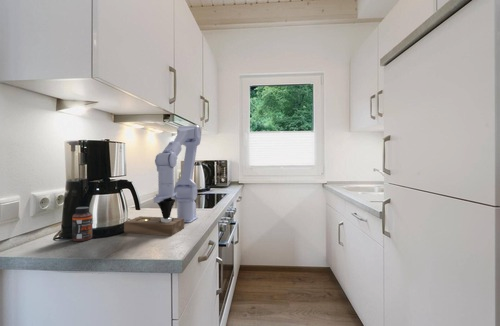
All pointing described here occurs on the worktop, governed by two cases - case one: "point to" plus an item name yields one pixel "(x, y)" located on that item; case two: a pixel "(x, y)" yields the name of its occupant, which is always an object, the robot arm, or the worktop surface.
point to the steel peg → (166, 219)
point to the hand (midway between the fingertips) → (166, 217)
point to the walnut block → (153, 226)
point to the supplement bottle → (82, 224)
